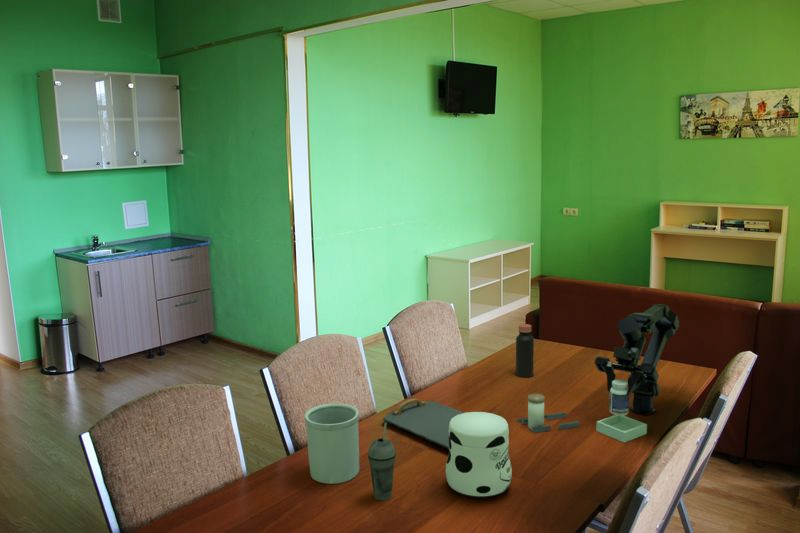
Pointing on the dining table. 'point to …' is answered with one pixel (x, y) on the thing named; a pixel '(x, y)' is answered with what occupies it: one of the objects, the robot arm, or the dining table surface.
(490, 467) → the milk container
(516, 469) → the dining table surface
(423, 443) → the dining table surface
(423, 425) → the serving board
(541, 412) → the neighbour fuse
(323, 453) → the utensil holder
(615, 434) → the tray
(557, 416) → the set of grey bars
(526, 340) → the black water bottle
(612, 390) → the pill bottle
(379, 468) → the beverage cup
